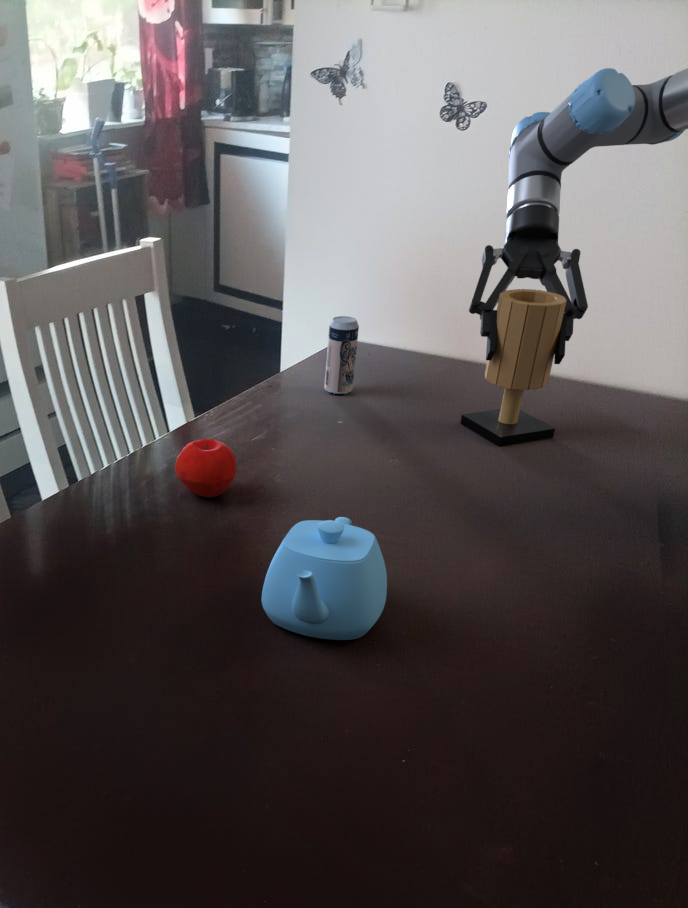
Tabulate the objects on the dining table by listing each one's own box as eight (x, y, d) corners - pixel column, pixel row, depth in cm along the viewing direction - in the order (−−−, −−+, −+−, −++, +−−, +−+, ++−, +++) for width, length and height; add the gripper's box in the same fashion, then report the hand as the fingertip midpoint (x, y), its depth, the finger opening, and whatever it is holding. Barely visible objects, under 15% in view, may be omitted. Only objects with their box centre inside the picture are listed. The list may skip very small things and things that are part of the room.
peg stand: (553, 437, 138) (568, 372, 132) (498, 446, 134) (512, 380, 129) (512, 415, 145) (525, 353, 139) (460, 423, 142) (470, 360, 136)
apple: (168, 502, 118) (167, 449, 114) (185, 478, 124) (185, 427, 120) (227, 510, 116) (228, 456, 112) (242, 485, 122) (243, 433, 118)
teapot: (237, 559, 84) (292, 483, 98) (235, 653, 90) (287, 569, 104) (371, 585, 80) (408, 502, 94) (359, 681, 86) (395, 590, 100)
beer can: (345, 397, 151) (352, 324, 145) (319, 392, 153) (325, 320, 146) (356, 389, 155) (363, 318, 148) (330, 384, 157) (337, 314, 150)
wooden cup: (559, 385, 133) (579, 301, 126) (509, 392, 131) (527, 307, 124) (521, 367, 140) (538, 287, 133) (473, 373, 137) (487, 292, 131)
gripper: (599, 236, 137) (594, 374, 133) (453, 231, 139) (444, 366, 135) (617, 204, 129) (611, 348, 125) (462, 199, 132) (452, 340, 128)
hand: (524, 357), depth 130 cm, fingers closed on wooden cup, 9 cm apart
